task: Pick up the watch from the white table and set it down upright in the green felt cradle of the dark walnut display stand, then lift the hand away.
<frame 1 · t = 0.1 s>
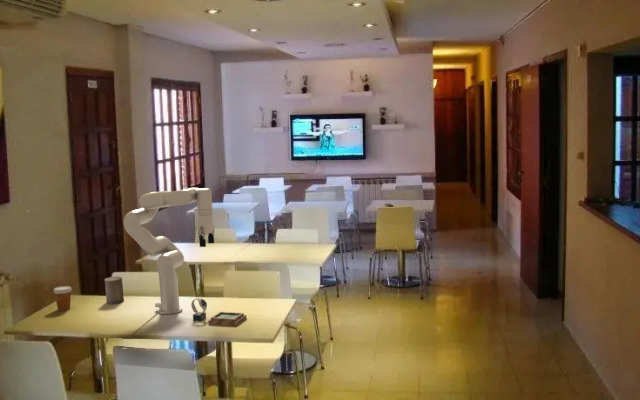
hand: (207, 244, 382), 37 cm above the table, tool pointing down, fingers open, 9 cm apart
display stand: (227, 321, 371), on the table
disposable coffee cup: (64, 309, 407), on the table
pillar candle: (115, 302, 419), on the table
watch: (199, 319, 377), on the table
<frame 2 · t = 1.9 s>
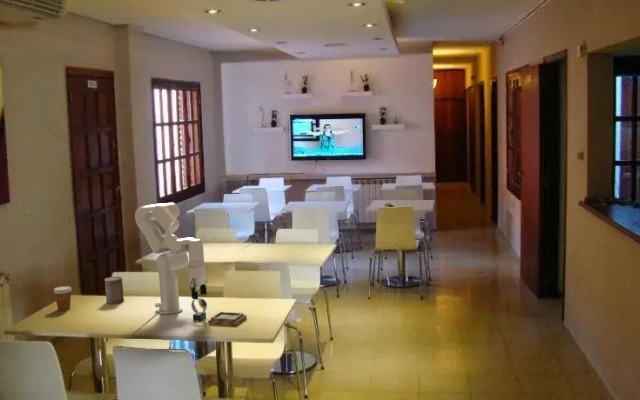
hand: (199, 296, 375), 12 cm above the table, tool pointing down, fingers open, 9 cm apart
nothing on the table moved.
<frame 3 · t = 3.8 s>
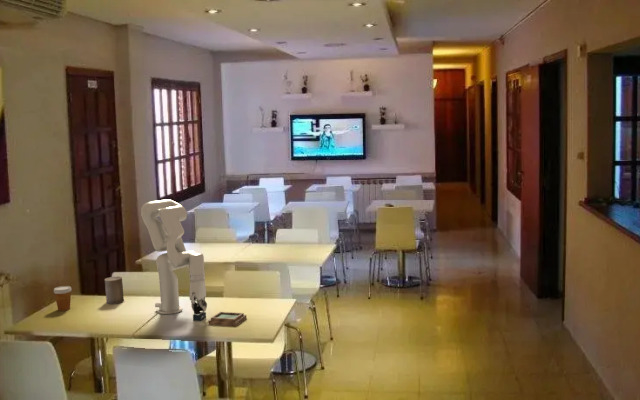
hand: (199, 312, 376), 4 cm above the table, tool pointing down, fingers closed on watch, 4 cm apart
watch: (199, 319, 377), on the table, touching gripper
everything else where it was.
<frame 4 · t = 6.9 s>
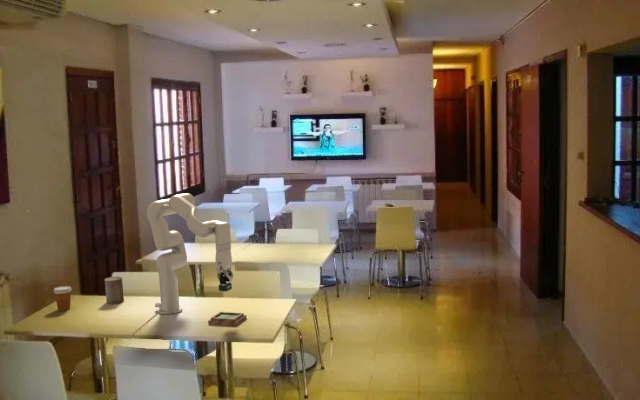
hand: (225, 282, 369), 20 cm above the table, tool pointing down, fingers closed on watch, 4 cm apart
watch: (225, 290, 369), point 16 cm above the table, touching gripper
everything else where it was.
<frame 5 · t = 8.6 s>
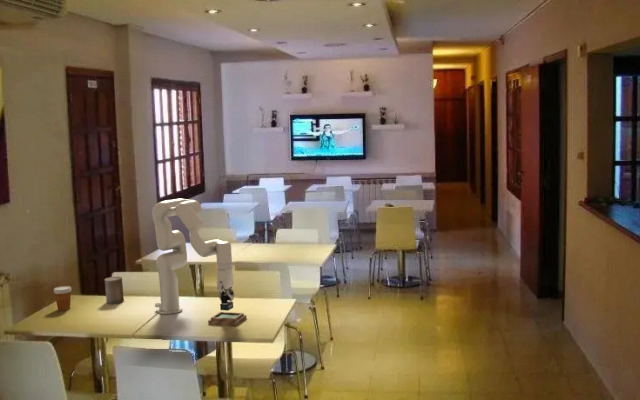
hand: (226, 301, 370), 10 cm above the table, tool pointing down, fingers closed on watch, 4 cm apart
watch: (227, 309, 370), point 6 cm above the table, touching gripper
everything else where it was.
when the fingers open (7 cm above the table, at t = 10.1 s): watch stays where it is, resting on display stand.
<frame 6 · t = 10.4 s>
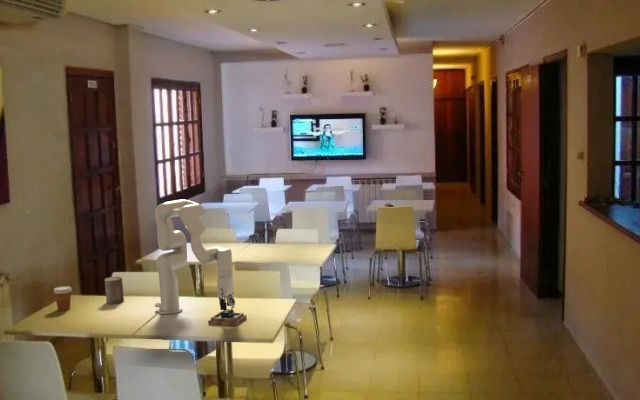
hand: (226, 307, 370), 7 cm above the table, tool pointing down, fingers open, 7 cm apart
watch: (227, 317, 371), point 2 cm above the table, touching display stand
everything else where it was.
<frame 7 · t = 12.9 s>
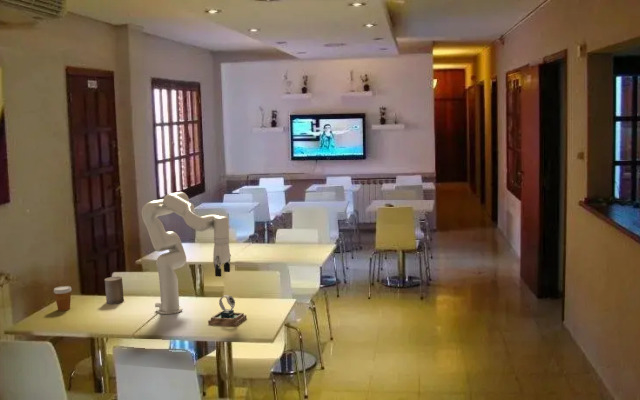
hand: (222, 274, 373), 23 cm above the table, tool pointing down, fingers open, 9 cm apart
nothing on the table moved.
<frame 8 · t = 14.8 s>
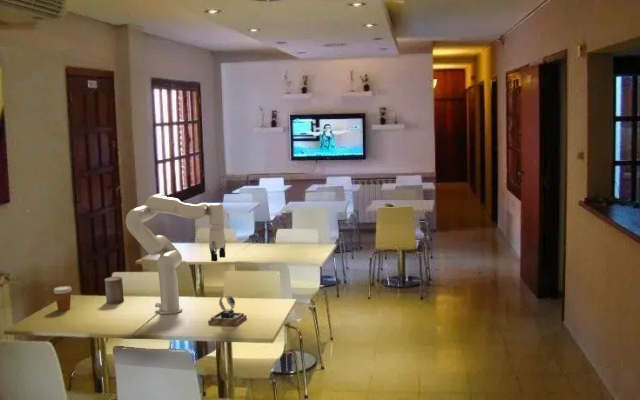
hand: (218, 259, 386), 28 cm above the table, tool pointing down, fingers open, 9 cm apart
nothing on the table moved.
at the end: watch 0.3 cm off-centre on the display stand, point 2.1 cm above the display stand's base; watch tilted 0°; the gripper is holding nothing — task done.
